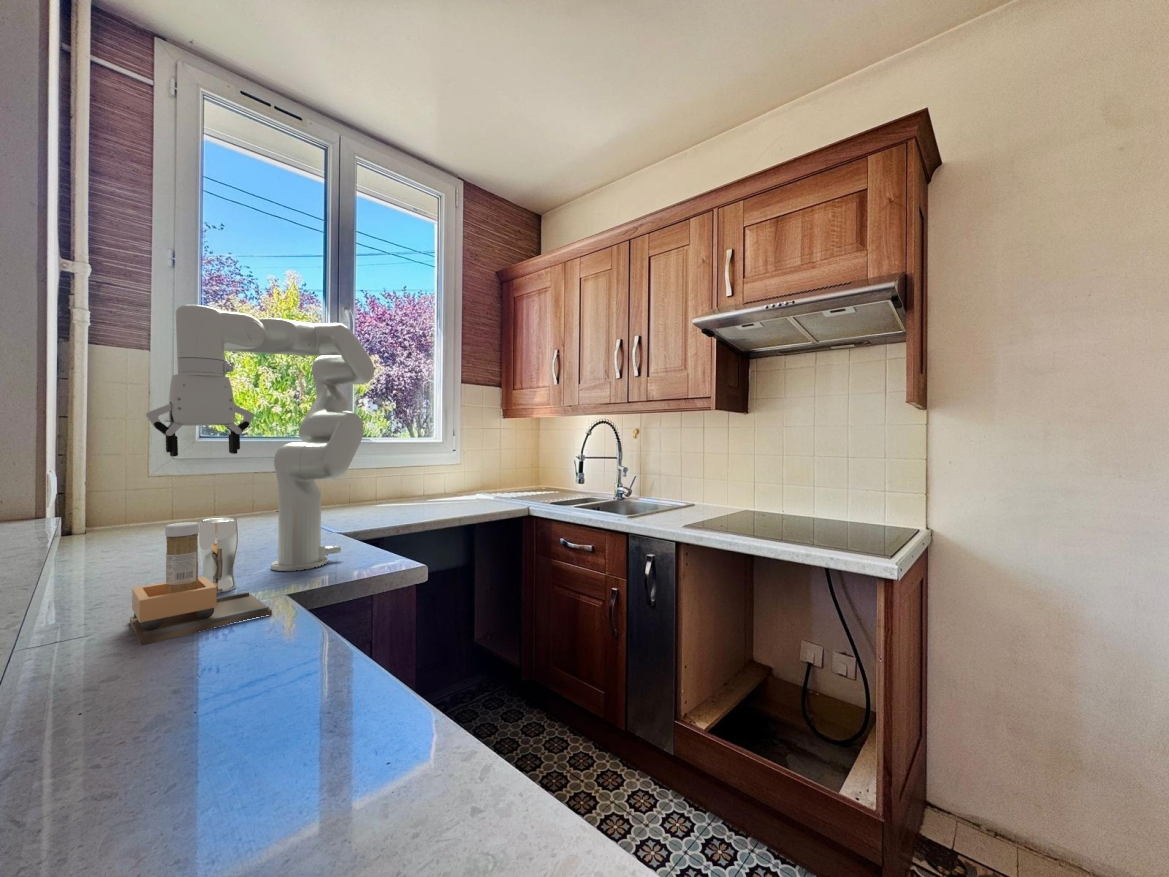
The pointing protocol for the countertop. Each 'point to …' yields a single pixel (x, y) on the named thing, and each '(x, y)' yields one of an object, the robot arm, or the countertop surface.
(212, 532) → the beer glass
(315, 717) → the countertop surface
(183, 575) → the sprinkles bottle
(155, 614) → the cart
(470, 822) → the countertop surface
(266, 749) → the countertop surface
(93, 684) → the countertop surface
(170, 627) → the track board
